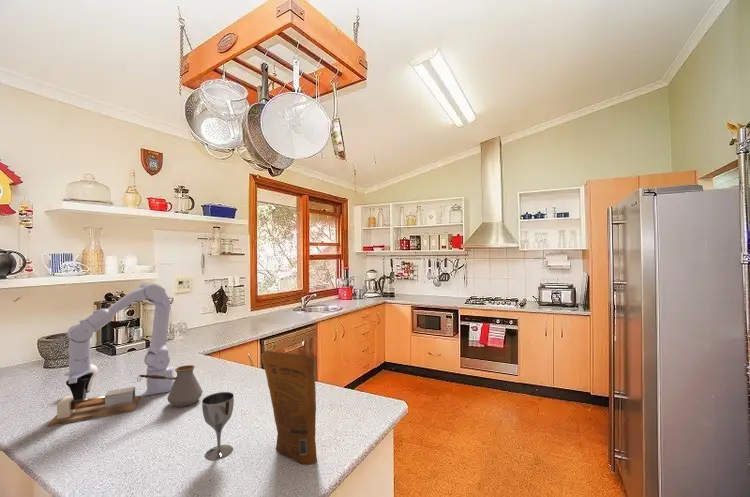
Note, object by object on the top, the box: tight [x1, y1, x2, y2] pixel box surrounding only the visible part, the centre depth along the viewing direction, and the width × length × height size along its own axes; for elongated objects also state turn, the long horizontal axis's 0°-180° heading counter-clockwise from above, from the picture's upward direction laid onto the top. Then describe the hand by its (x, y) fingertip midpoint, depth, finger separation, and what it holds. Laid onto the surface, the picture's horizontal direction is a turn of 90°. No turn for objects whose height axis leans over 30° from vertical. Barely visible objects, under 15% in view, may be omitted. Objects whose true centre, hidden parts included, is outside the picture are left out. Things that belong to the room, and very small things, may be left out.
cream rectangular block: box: [56, 394, 75, 419], centre depth 115 cm, size 3×7×5 cm, turn 26°
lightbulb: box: [87, 363, 99, 392], centre depth 137 cm, size 6×6×11 cm
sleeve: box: [104, 386, 136, 409], centre depth 122 cm, size 8×5×5 cm, turn 116°
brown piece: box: [71, 388, 105, 410], centre depth 118 cm, size 14×3×6 cm, turn 116°
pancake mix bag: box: [261, 350, 318, 466], centre depth 90 cm, size 7×19×28 cm, turn 54°
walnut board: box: [47, 394, 141, 427], centre depth 119 cm, size 23×12×1 cm, turn 116°
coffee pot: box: [136, 364, 204, 408], centre depth 121 cm, size 21×12×15 cm, turn 148°
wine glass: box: [201, 391, 235, 461], centre depth 92 cm, size 8×8×15 cm
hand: (80, 397), depth 117 cm, fingers closed on brown piece, 3 cm apart
